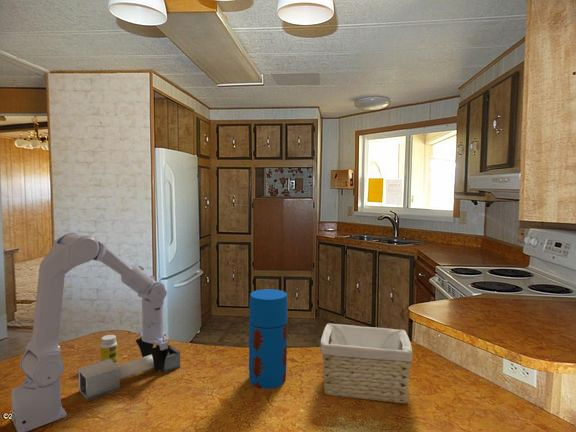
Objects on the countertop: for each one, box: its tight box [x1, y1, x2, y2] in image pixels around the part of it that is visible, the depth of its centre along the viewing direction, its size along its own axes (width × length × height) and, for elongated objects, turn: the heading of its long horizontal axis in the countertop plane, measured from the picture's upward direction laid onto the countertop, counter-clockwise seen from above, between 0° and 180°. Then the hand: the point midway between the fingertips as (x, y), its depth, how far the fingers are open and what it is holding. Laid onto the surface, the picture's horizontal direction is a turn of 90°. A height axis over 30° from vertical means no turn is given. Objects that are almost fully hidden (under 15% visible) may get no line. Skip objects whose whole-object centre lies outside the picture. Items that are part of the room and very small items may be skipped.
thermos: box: [248, 288, 288, 390], centre depth 105 cm, size 11×11×25 cm
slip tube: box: [116, 352, 170, 380], centre depth 107 cm, size 16×4×4 cm, turn 136°
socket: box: [161, 344, 181, 374], centre depth 113 cm, size 5×7×5 cm
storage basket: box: [320, 323, 414, 404], centre depth 103 cm, size 24×16×15 cm
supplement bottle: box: [99, 334, 118, 365], centre depth 114 cm, size 5×5×8 cm
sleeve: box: [78, 359, 121, 402], centre depth 99 cm, size 8×7×6 cm
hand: (153, 365), depth 109 cm, fingers open, 7 cm apart
